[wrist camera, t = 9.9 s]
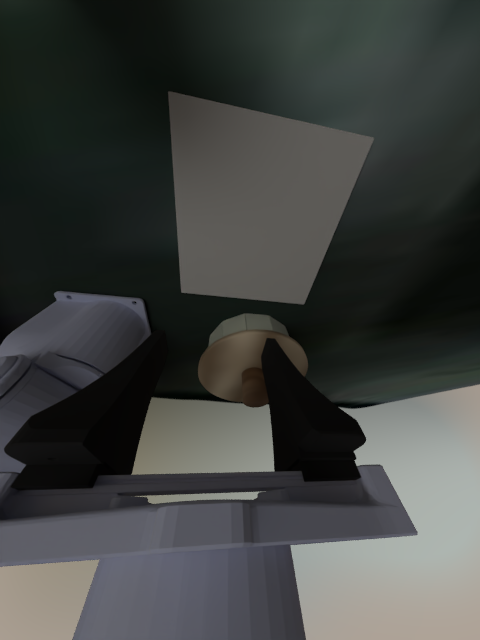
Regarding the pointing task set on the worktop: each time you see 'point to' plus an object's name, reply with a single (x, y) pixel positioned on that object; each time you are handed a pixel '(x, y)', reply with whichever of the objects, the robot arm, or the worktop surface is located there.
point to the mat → (256, 198)
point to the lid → (244, 365)
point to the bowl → (246, 325)
